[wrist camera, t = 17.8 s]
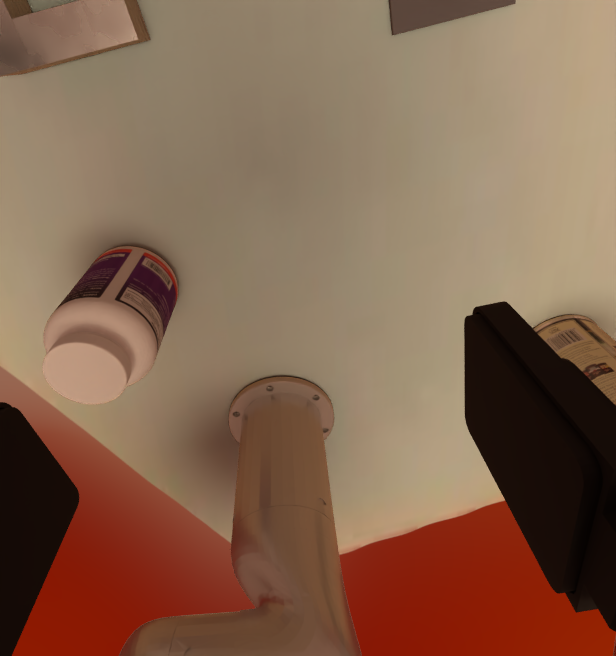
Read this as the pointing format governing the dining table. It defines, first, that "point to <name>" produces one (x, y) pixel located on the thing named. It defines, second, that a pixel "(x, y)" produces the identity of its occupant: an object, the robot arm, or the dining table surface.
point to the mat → (435, 11)
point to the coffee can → (583, 348)
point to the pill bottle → (109, 326)
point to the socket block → (65, 32)
